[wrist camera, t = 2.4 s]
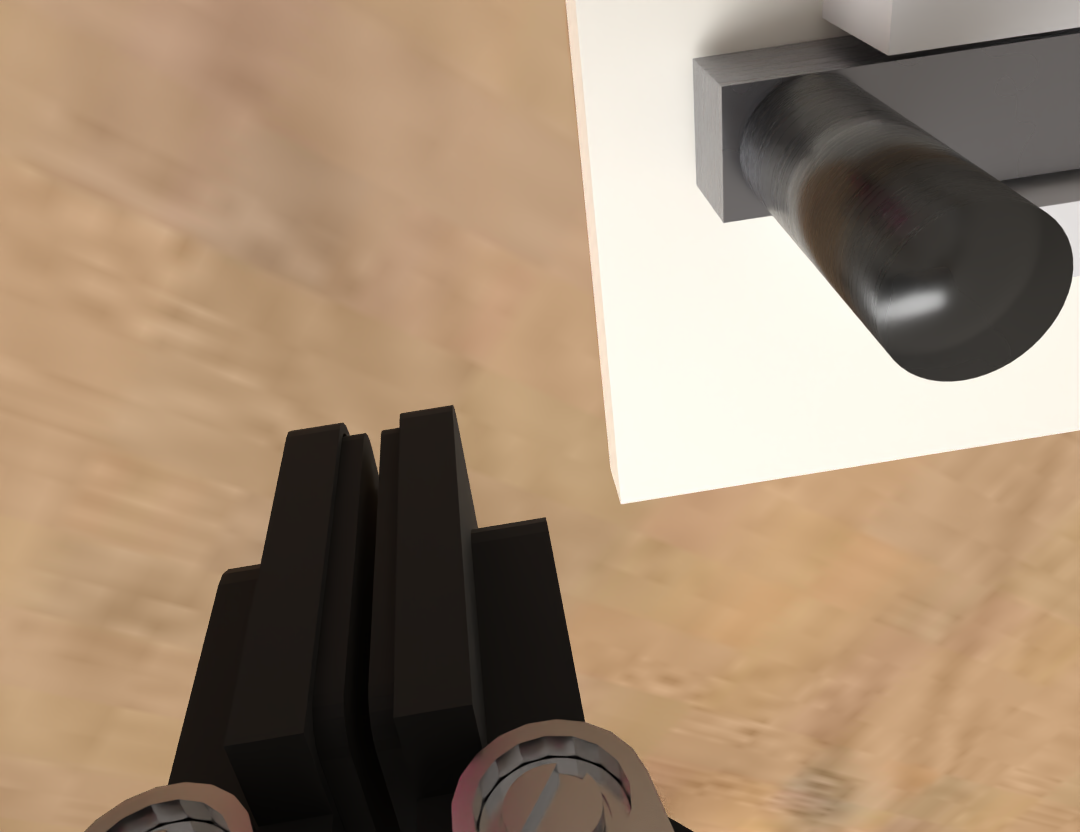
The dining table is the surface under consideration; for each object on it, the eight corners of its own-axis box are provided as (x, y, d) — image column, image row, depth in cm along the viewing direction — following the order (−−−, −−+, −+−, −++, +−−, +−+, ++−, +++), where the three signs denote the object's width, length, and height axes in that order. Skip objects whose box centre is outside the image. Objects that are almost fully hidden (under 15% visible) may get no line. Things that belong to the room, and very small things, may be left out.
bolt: (692, 58, 18) (860, 221, 11) (1225, -21, 18) (1697, 92, 12) (696, 184, 19) (849, 398, 13) (1192, 109, 20) (1601, 279, 13)
